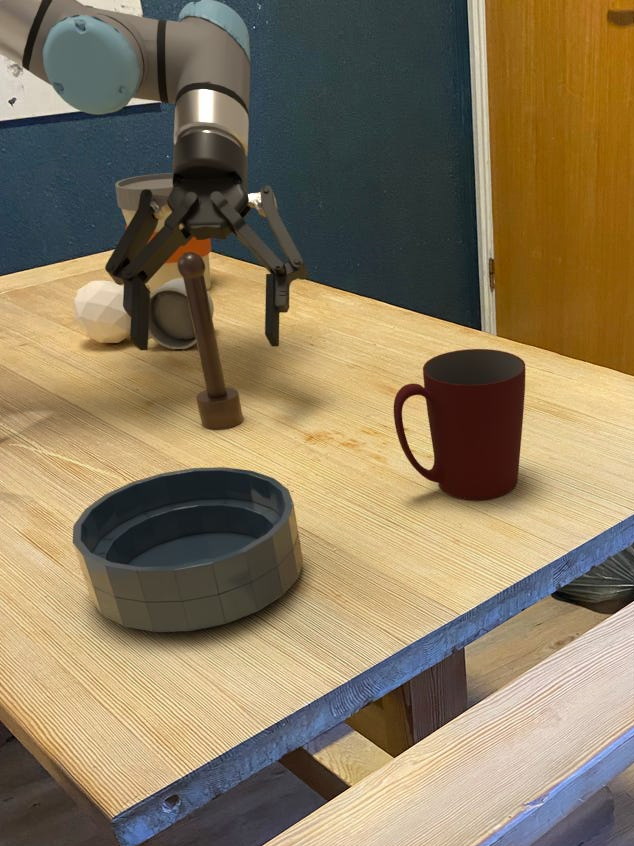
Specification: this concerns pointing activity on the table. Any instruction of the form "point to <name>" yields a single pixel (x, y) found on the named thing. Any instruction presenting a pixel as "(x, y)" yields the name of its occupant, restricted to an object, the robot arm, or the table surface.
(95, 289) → the geometric ball
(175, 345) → the ceramic mug
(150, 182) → the reusable coffee cup
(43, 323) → the table surface
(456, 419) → the mug
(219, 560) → the bowl
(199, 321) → the muddler
